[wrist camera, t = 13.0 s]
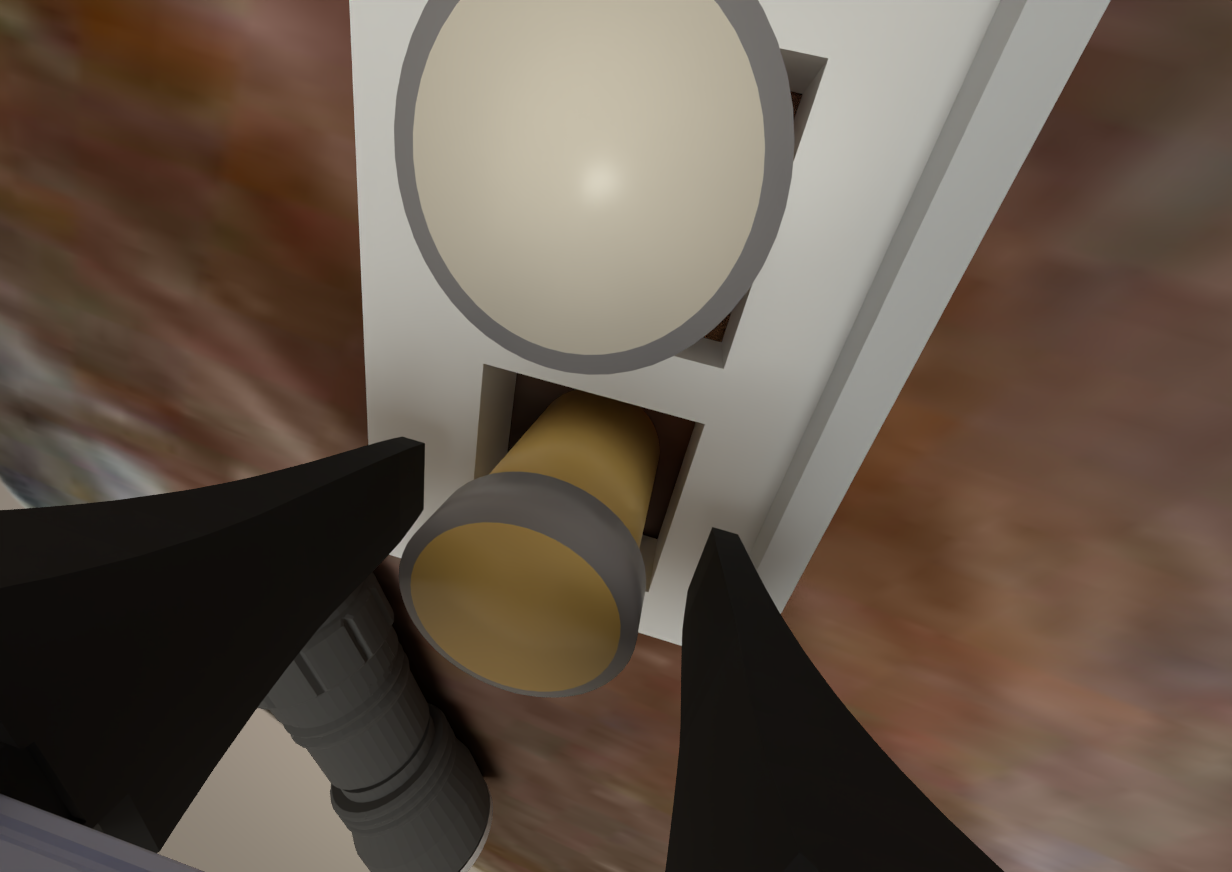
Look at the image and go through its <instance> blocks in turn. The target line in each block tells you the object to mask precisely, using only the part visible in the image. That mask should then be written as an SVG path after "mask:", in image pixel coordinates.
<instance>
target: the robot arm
mask: <svg viewBox="0 0 1232 872" xmlns="http://www.w3.org/2000/svg"><path fill="white" fill-rule="evenodd" d="M424 471H425V443H423V442H419V441H416V440H413V439H409V438H406V437H397V438H392V439H388V440H385V441H381V442H377V443H374V444H370V445H367V446H363V447H360V448H357V449H353V450H350V451H347V452H343V453H340V454H336V455H333V456H330V457H326V458H323V459H319V460H316V461H313V462H309V463H305V464H301V465H298V466H294V467H290V468H286V469H282V470H278V471H275V472H271V473H267V474H263V475H259V476H255V477H251V478H246V479H242V480H237V481H233V482H228V483H223V484H217V485H212V486H207V487H202V488H197V489H191V490H185V491H179V492H172V493H165V494H158V495H151V496H143V497H136V498H129V499H122V500H115V501H106V502H96V503H87V504H77V505H66V506H54V507H42V508H29V509H14V510H0V872H204V871H201V870H199V869H196V868H193V867H191V866H188V865H186V864H183V863H180V862H178V861H175V860H173V859H170V858H167V857H165V856H162V855H159V854H157V853H158V852H159V851H160V850H161V848H162V847H163V845H164V844H165V842H166V841H167V839H168V837H169V836H170V834H171V833H172V831H173V830H174V828H175V826H176V825H177V823H178V822H179V821H180V819H181V817H182V816H183V814H184V813H185V811H186V810H187V808H188V807H189V805H190V804H191V802H192V801H193V799H194V798H195V796H196V795H197V793H198V792H199V790H200V789H201V787H202V786H203V784H204V783H205V781H206V780H207V778H208V777H209V775H210V774H211V772H212V771H213V769H214V768H215V766H216V765H217V764H218V762H219V761H220V759H221V758H222V757H223V755H224V754H225V752H226V751H227V749H228V748H229V747H230V745H231V743H232V742H233V741H234V740H235V738H236V737H237V735H238V734H239V733H240V731H241V730H242V728H243V727H244V725H245V724H246V722H247V721H248V720H249V718H250V717H251V716H252V714H253V713H254V711H255V710H256V709H257V708H258V706H259V705H260V704H261V702H262V701H263V700H264V698H265V697H266V696H267V694H268V693H269V692H270V690H271V689H272V688H273V686H274V685H275V684H276V682H277V681H278V680H279V678H280V677H281V676H282V674H283V673H284V672H285V670H286V669H287V668H288V666H289V665H290V664H291V663H292V661H293V660H294V659H295V658H296V656H297V655H298V654H299V653H300V651H301V650H302V649H303V648H304V646H305V645H306V644H307V642H308V641H309V640H310V639H311V637H312V636H313V635H314V634H315V632H316V631H317V630H318V629H319V628H320V627H321V625H322V624H323V623H324V622H325V621H326V620H327V619H328V618H329V617H330V615H331V614H332V613H333V612H334V611H335V610H336V609H337V608H338V607H339V606H340V605H341V604H342V603H343V602H344V601H345V600H346V599H347V598H348V597H349V595H350V594H351V593H352V592H353V591H354V590H355V589H356V588H357V587H358V586H359V585H360V584H361V583H362V582H363V581H364V580H365V579H366V578H367V577H368V576H369V575H370V574H371V573H372V572H373V571H374V570H375V569H376V567H377V566H378V565H379V564H380V563H381V562H382V561H383V560H384V559H385V558H386V557H387V556H388V555H389V554H390V553H391V552H392V551H393V550H394V548H395V547H396V546H397V545H398V544H399V543H400V542H401V541H402V539H403V538H404V537H405V535H406V534H407V533H408V531H409V530H410V529H411V527H412V526H413V524H414V523H415V521H416V520H417V519H418V517H419V516H420V514H421V513H422V511H423V510H424ZM665 872H1004V871H1003V870H1002V869H1001V868H1000V867H999V866H998V865H996V864H995V863H994V862H993V861H992V860H991V859H990V858H989V857H988V856H987V855H986V854H985V853H984V852H983V851H982V850H981V849H980V848H979V847H977V846H976V845H975V844H974V843H973V842H972V841H971V840H970V839H969V838H968V837H967V836H966V835H965V834H964V833H963V832H962V831H961V830H959V829H958V828H957V827H956V826H955V825H954V824H953V823H952V822H951V821H950V820H949V819H948V818H947V817H946V816H945V815H944V814H943V813H942V812H941V811H940V810H939V809H938V808H937V807H936V806H935V805H934V804H933V803H932V802H931V801H930V800H929V799H928V798H927V797H926V796H925V795H924V794H923V793H922V792H921V790H920V789H919V788H918V787H917V786H916V785H915V784H914V783H913V782H912V781H911V780H910V779H909V778H908V777H907V776H906V775H905V774H904V773H903V772H902V771H901V770H900V769H899V767H898V766H897V765H896V764H895V763H894V762H893V761H892V760H891V759H890V758H889V757H888V755H887V754H886V753H885V752H884V751H883V750H882V749H881V748H880V747H879V745H878V744H877V743H876V742H875V741H874V740H873V738H872V737H871V736H870V735H869V734H868V733H867V731H866V730H865V729H864V728H863V727H862V726H861V724H860V723H859V722H858V721H857V720H856V719H855V717H854V716H853V715H852V714H851V713H850V711H849V710H848V709H847V708H846V707H845V705H844V704H843V703H842V702H841V700H840V699H839V698H838V697H837V695H836V694H835V693H834V691H833V690H832V689H831V687H830V686H829V685H828V683H827V682H826V681H825V679H824V678H823V677H822V675H821V674H820V673H819V671H818V670H817V669H816V667H815V666H814V665H813V663H812V662H811V660H810V659H809V658H808V656H807V655H806V653H805V652H804V650H803V649H802V647H801V646H800V644H799V643H798V641H797V640H796V638H795V637H794V635H793V633H792V632H791V630H790V629H789V627H788V626H787V624H786V623H785V621H784V619H783V618H782V616H781V614H780V613H779V611H778V609H777V607H776V605H775V604H774V602H773V600H772V598H771V597H770V595H769V593H768V591H767V590H766V588H765V586H764V584H763V582H762V580H761V578H760V576H759V574H758V572H757V571H756V569H755V567H754V565H753V563H752V561H751V559H750V557H749V555H748V553H747V551H746V549H745V547H744V545H743V543H742V541H741V539H740V537H739V535H738V534H735V533H732V532H728V531H725V530H721V529H718V528H714V527H712V529H711V531H710V534H709V537H708V539H707V542H706V544H705V547H704V549H703V552H702V554H701V557H700V560H699V562H698V565H697V567H696V570H695V572H694V575H693V578H692V580H691V583H690V585H689V588H688V591H687V598H686V605H685V612H684V620H683V628H682V664H681V729H680V747H679V758H678V768H677V777H676V786H675V796H674V805H673V813H672V821H671V830H670V838H669V847H668V855H667V863H666V871H665Z"/></svg>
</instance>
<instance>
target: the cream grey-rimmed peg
mask: <svg viewBox="0 0 1232 872" xmlns="http://www.w3.org/2000/svg"><path fill="white" fill-rule="evenodd" d="M794 144H795V142H794V118H793V105H792V99H791V93H790V87H789V81H788V75H787V71H786V68H785V64H784V61H783V58H782V54H781V51H780V48H779V44H778V41H777V38H776V36H775V34H774V32H773V30H772V27H771V25H770V23H769V21H768V19H767V16H766V14H765V12H764V10H763V8H762V6H761V4H760V3H759V1H758V0H428V2H427V4H426V5H425V7H424V9H423V11H422V13H421V16H420V18H419V20H418V22H417V25H416V27H415V29H414V31H413V33H412V36H411V39H410V42H409V45H408V48H407V52H406V55H405V58H404V61H403V65H402V69H401V74H400V79H399V85H398V90H397V95H396V107H395V120H394V146H395V162H396V169H397V177H398V185H399V189H400V193H401V197H402V202H403V206H404V210H405V214H406V217H407V219H408V222H409V225H410V228H411V231H412V234H413V237H414V239H415V241H416V244H417V246H418V248H419V250H420V252H421V254H422V257H423V259H424V261H425V263H426V264H427V266H428V268H429V269H430V271H431V273H432V275H433V276H434V278H435V280H436V281H437V283H438V284H439V286H440V287H441V288H442V290H443V291H444V292H445V294H446V295H447V297H448V298H449V299H450V301H451V302H452V303H453V304H454V305H455V306H456V308H457V309H458V310H459V311H460V312H461V313H462V314H463V315H464V316H465V317H466V318H467V319H468V321H470V322H471V323H472V324H473V325H474V326H475V327H476V328H478V329H479V330H480V331H481V332H482V333H483V334H484V335H486V336H487V337H488V338H490V339H491V340H493V341H494V342H496V343H497V344H499V345H500V346H501V347H503V348H504V349H506V350H508V351H510V352H512V353H514V354H516V355H518V356H519V357H521V358H523V359H525V360H528V361H531V362H533V363H536V364H538V365H541V366H544V367H547V368H551V369H555V370H559V371H563V372H569V373H577V374H586V375H599V374H615V373H622V372H629V371H633V370H637V369H641V368H644V367H648V366H651V365H654V364H656V363H659V362H661V361H663V360H666V359H668V358H670V357H673V356H675V355H676V354H678V353H680V352H681V351H683V350H685V349H687V348H688V347H690V346H692V345H693V344H695V343H696V342H697V341H699V340H700V339H701V338H703V337H704V336H705V335H706V334H708V333H709V332H710V331H712V330H713V329H714V328H715V327H716V326H717V325H718V324H719V323H720V322H721V321H722V320H723V319H724V318H725V317H726V316H727V315H728V314H729V313H730V312H731V311H732V310H733V309H734V308H735V306H736V305H737V304H738V303H739V301H740V300H741V299H742V297H743V296H744V295H745V294H746V292H747V291H748V290H749V288H750V287H751V285H752V283H753V282H754V280H755V279H756V277H757V275H758V274H759V272H760V270H761V269H762V267H763V265H764V263H765V261H766V259H767V257H768V255H769V252H770V250H771V248H772V246H773V244H774V241H775V239H776V237H777V234H778V231H779V227H780V224H781V221H782V218H783V215H784V212H785V209H786V204H787V199H788V194H789V189H790V184H791V179H792V169H793V157H794Z"/></svg>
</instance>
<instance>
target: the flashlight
mask: <svg viewBox="0 0 1232 872" xmlns="http://www.w3.org/2000/svg"><path fill="white" fill-rule="evenodd" d="M393 622H394V612H393V610H392V608H391V606H390V604H389V602H388V600H387V598H386V596H385V594H384V592H383V590H382V589H381V587H380V585H379V583H378V581H377V579H376V577H375V575H374V573H373V572H372V573H371V574H370V575H369V576H368V577H367V578H366V579H365V580H364V581H363V582H362V583H361V584H360V585H359V586H358V587H357V588H356V589H355V590H354V591H353V592H352V593H351V594H350V595H349V597H348V598H347V599H346V600H345V601H344V602H343V603H342V604H341V605H340V606H339V607H338V608H337V609H336V610H335V611H334V612H333V613H332V614H331V615H330V617H329V618H328V619H327V620H326V621H325V622H324V623H323V624H322V625H321V627H320V628H319V629H318V630H317V631H316V632H315V634H314V635H313V636H312V637H311V639H310V640H309V641H308V642H307V644H306V645H305V646H304V648H303V649H302V650H301V651H300V653H299V654H298V655H297V656H296V658H295V659H294V660H293V661H292V663H291V664H290V665H289V666H288V668H287V669H286V670H285V672H284V673H283V674H282V676H281V677H280V678H279V680H278V681H277V682H276V684H275V685H274V686H273V688H272V689H271V690H270V692H269V693H268V694H267V696H266V697H265V698H264V700H263V701H262V702H261V704H260V705H259V706H258V708H261V709H270V711H271V712H272V713H273V715H274V716H275V718H276V719H277V720H278V721H279V722H281V723H283V725H284V728H285V729H286V730H287V732H288V733H290V734H291V737H292V739H293V740H294V741H295V742H296V743H297V744H299V745H300V746H302V747H304V748H306V749H307V750H308V752H309V753H310V754H311V756H312V757H313V759H314V760H315V761H316V763H317V764H318V765H319V767H320V768H321V770H322V771H323V772H324V774H325V775H326V777H327V778H328V779H329V781H330V782H331V790H330V795H331V803H332V806H333V809H334V810H335V812H336V813H337V814H338V815H339V817H340V818H341V820H342V821H343V822H344V824H345V825H346V827H347V828H348V829H349V830H350V831H351V832H352V835H353V840H354V844H355V848H356V851H357V854H358V855H359V857H360V858H361V859H362V861H363V862H364V863H365V865H366V866H367V867H368V869H369V870H370V871H371V872H468V871H469V869H470V868H471V867H472V865H473V864H474V862H475V861H476V859H477V858H478V856H479V854H480V852H481V851H482V849H483V846H484V844H485V842H486V840H487V837H488V834H489V831H490V827H491V822H492V815H493V802H492V797H491V793H490V791H489V788H488V786H487V784H486V782H485V780H484V779H483V777H482V775H481V773H480V771H479V769H478V767H477V765H476V763H475V761H474V759H473V757H472V755H471V753H470V751H469V750H468V748H467V747H466V746H465V745H464V744H463V743H462V742H460V741H459V740H458V739H457V738H456V737H455V734H454V732H453V730H452V728H451V727H450V724H449V722H448V721H447V719H446V717H445V715H444V713H443V712H442V711H441V710H440V709H439V708H437V707H436V706H434V705H431V704H428V703H427V702H426V700H425V698H424V696H423V694H422V692H421V690H420V688H419V686H418V685H417V683H416V681H415V679H414V677H413V675H412V673H411V671H410V669H409V660H408V657H407V655H406V654H405V652H404V651H403V648H402V645H401V644H400V643H399V642H398V637H397V634H396V632H395V630H394V628H393V626H392V624H393Z"/></svg>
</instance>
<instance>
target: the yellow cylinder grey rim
mask: <svg viewBox="0 0 1232 872" xmlns="http://www.w3.org/2000/svg"><path fill="white" fill-rule="evenodd" d="M659 456H660V445H659V439H658V435H657V432H656V429H655V427H654V425H653V423H652V421H651V419H650V418H649V417H648V415H647V414H646V413H645V412H644V411H643V409H642V408H641V407H640V406H637V405H633V404H629V403H626V402H622V401H618V400H615V399H611V398H607V397H604V396H600V395H596V394H593V393H589V392H585V391H582V390H578V389H576V390H573V391H570V392H567V393H565V394H563V395H561V396H560V397H558V398H557V399H555V400H554V401H553V402H552V403H551V404H550V405H549V406H548V407H547V408H546V410H545V411H544V412H543V413H542V414H541V415H540V416H539V418H538V419H537V420H536V421H535V422H534V423H533V424H532V426H531V427H530V428H529V429H528V430H527V431H526V433H525V434H524V435H523V436H522V437H521V438H520V439H519V441H518V442H517V443H516V444H515V445H514V446H513V447H512V449H511V450H510V451H509V452H508V453H507V454H506V455H505V457H504V458H503V459H502V460H501V461H500V462H499V463H498V465H497V466H496V467H495V468H494V469H493V470H492V471H491V473H490V474H489V475H486V476H482V477H479V478H477V479H474V480H472V481H470V482H468V483H466V484H465V485H463V486H462V487H460V488H459V489H457V490H456V491H455V492H454V493H453V494H452V495H451V496H450V497H449V498H448V499H447V500H446V501H445V502H444V503H443V504H442V505H441V506H440V507H439V508H438V509H437V510H436V511H435V512H434V514H433V515H432V516H431V517H430V518H429V519H428V520H427V521H426V522H425V523H424V524H423V525H422V526H421V527H420V528H419V529H418V530H417V532H416V533H415V534H414V535H413V536H412V538H411V539H410V540H409V542H408V543H407V545H406V547H405V549H404V551H403V554H402V557H401V561H400V566H399V584H400V591H401V595H402V599H403V602H404V604H405V607H406V609H407V612H408V614H409V615H410V617H411V619H412V621H413V623H414V624H415V626H416V627H417V629H418V630H419V631H420V633H421V634H422V635H423V636H424V638H425V639H426V640H427V641H428V642H429V643H430V645H431V646H432V647H434V648H435V649H436V650H437V651H438V652H439V653H440V654H441V655H442V656H443V657H445V658H446V659H447V660H448V661H450V662H451V663H452V664H454V665H455V666H457V667H458V668H459V669H461V670H462V671H464V672H466V673H468V674H469V675H471V676H473V677H475V678H477V679H479V680H481V681H483V682H485V683H487V684H490V685H492V686H495V687H498V688H500V689H503V690H507V691H510V692H514V693H518V694H523V695H528V696H537V697H566V696H573V695H578V694H583V693H586V692H589V691H592V690H595V689H597V688H599V687H601V686H603V685H605V684H606V683H608V682H609V681H611V680H612V679H613V678H615V677H616V676H617V675H618V674H619V673H620V672H621V671H622V670H623V669H624V667H625V666H626V664H627V663H628V662H629V660H630V658H631V656H632V653H633V651H634V648H635V644H636V640H637V635H638V629H639V624H640V618H641V612H642V607H643V601H644V596H645V590H646V573H645V566H644V562H643V558H642V555H641V552H640V550H639V548H640V543H641V539H642V534H643V530H644V525H645V521H646V516H647V512H648V507H649V502H650V498H651V493H652V489H653V484H654V480H655V475H656V471H657V466H658V461H659Z"/></svg>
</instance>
